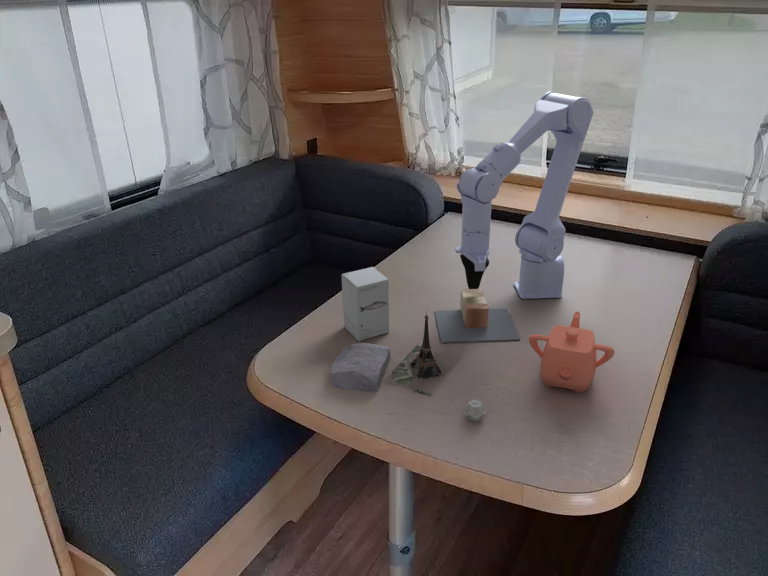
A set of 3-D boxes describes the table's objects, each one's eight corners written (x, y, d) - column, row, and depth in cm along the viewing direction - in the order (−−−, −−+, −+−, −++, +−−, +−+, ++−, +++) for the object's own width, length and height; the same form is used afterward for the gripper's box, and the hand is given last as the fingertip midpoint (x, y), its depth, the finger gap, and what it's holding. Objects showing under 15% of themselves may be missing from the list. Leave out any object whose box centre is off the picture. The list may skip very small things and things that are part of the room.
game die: (465, 409, 107) (465, 395, 106) (487, 413, 106) (487, 398, 105) (461, 422, 104) (462, 408, 103) (483, 426, 103) (484, 411, 102)
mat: (507, 309, 138) (507, 308, 138) (520, 340, 127) (520, 339, 126) (434, 311, 138) (434, 310, 138) (441, 343, 126) (441, 341, 126)
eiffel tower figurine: (417, 346, 127) (417, 287, 121) (464, 358, 122) (466, 297, 116) (381, 385, 115) (379, 322, 109) (432, 400, 111) (433, 335, 105)
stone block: (329, 397, 114) (382, 393, 112) (323, 374, 113) (376, 370, 110) (346, 363, 125) (394, 359, 122) (341, 342, 123) (389, 338, 120)
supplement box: (358, 342, 127) (355, 287, 122) (343, 326, 133) (340, 272, 127) (390, 333, 130) (389, 278, 125) (374, 318, 136) (372, 265, 130)
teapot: (618, 394, 110) (627, 345, 105) (559, 409, 107) (565, 358, 102) (572, 353, 122) (578, 307, 117) (518, 365, 119) (522, 318, 114)
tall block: (481, 288, 137) (488, 308, 129) (480, 306, 139) (487, 327, 131) (460, 289, 137) (466, 309, 129) (460, 307, 139) (466, 328, 131)
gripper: (452, 216, 134) (450, 273, 140) (461, 242, 121) (458, 304, 127) (484, 215, 134) (481, 272, 140) (497, 241, 121) (493, 303, 127)
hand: (473, 287), depth 134 cm, fingers closed
